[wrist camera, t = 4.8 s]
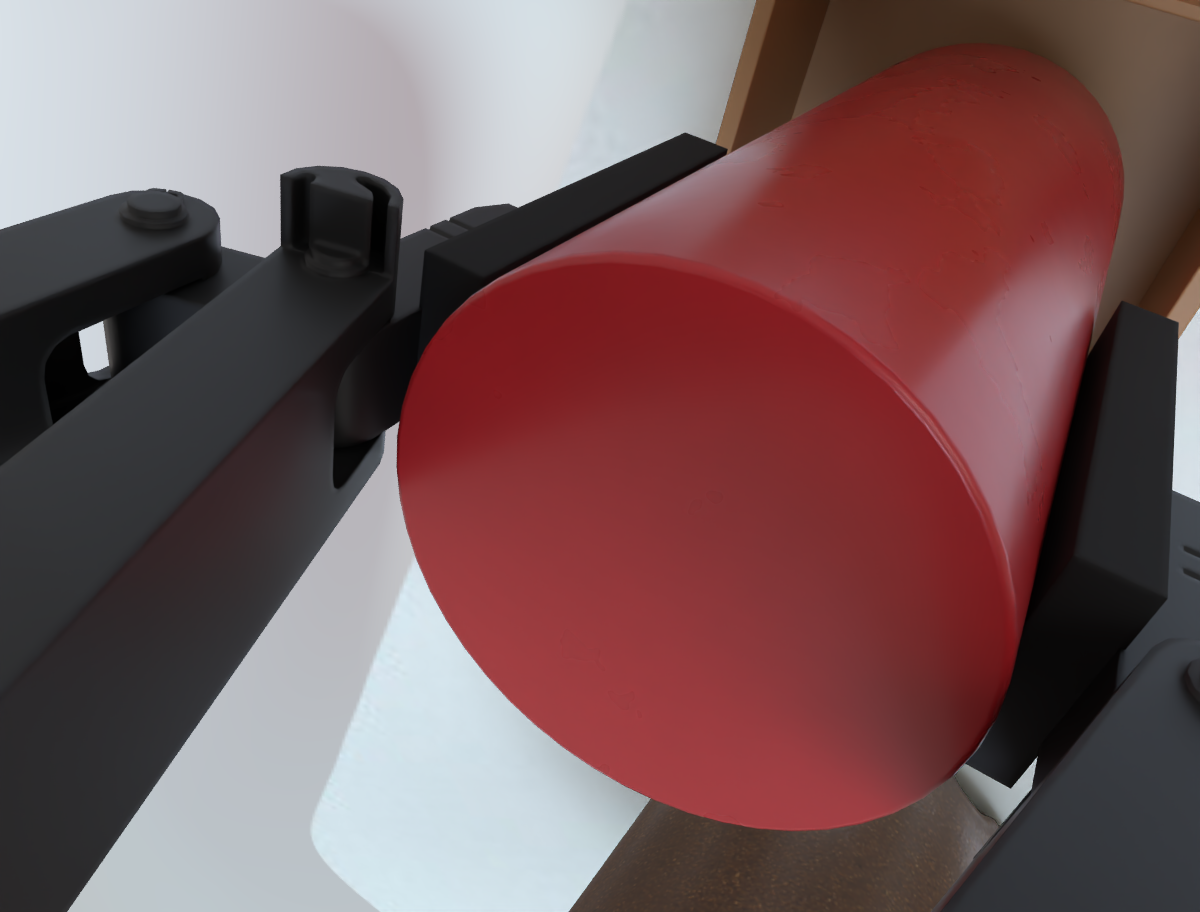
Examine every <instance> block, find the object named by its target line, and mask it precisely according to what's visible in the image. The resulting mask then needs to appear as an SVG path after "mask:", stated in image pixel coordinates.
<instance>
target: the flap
mask: <svg viewBox="0 0 1200 912" xmlns="http://www.w3.org/2000/svg"><path fill="white" fill-rule="evenodd" d="M1178 1H1181V2H1184V3H1188V4H1191V5H1195V6H1198V7H1200V0H1178Z"/></svg>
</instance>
